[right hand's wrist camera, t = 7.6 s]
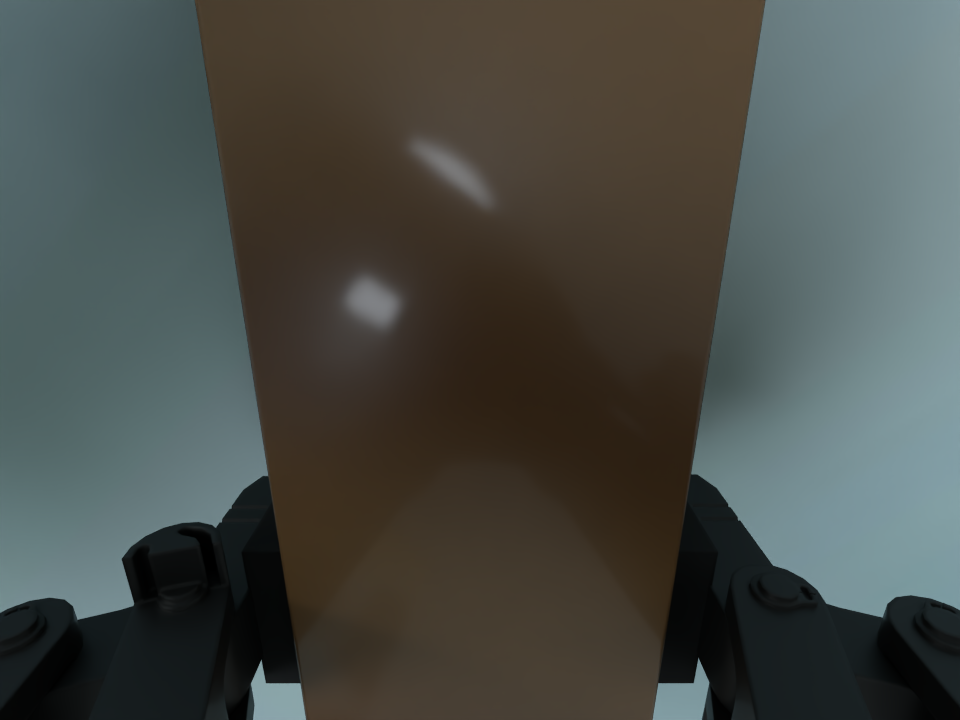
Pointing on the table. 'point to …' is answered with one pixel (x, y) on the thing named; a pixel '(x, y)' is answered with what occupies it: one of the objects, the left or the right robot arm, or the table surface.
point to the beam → (479, 330)
